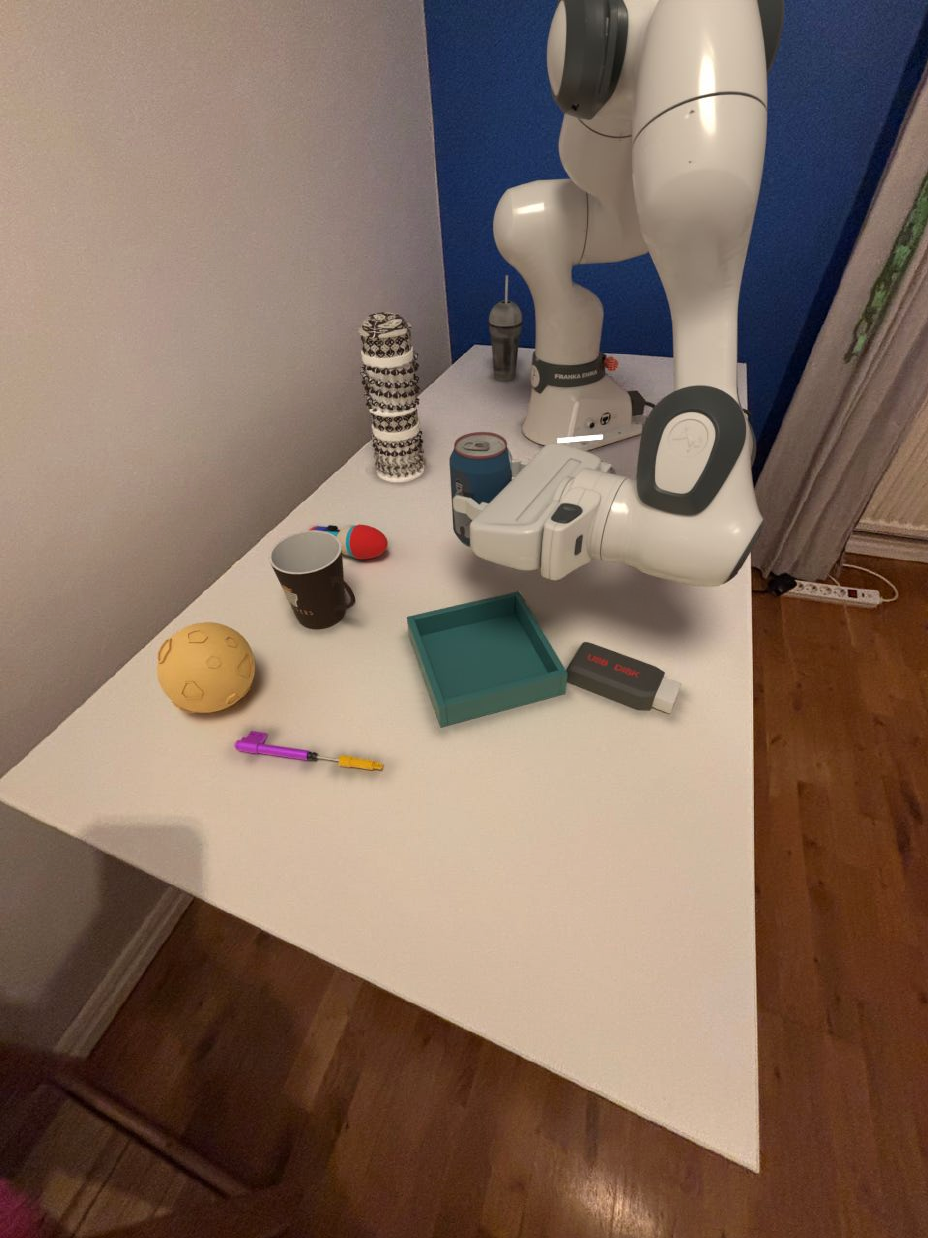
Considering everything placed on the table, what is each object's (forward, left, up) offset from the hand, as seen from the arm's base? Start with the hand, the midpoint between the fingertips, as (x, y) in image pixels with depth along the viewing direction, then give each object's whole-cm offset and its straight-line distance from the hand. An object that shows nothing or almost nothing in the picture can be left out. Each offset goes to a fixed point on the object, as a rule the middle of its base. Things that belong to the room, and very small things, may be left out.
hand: (474, 483), depth 68 cm
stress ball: (+33, +7, -17) cm, 38 cm away
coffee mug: (+20, -2, -17) cm, 27 cm away
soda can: (-1, +1, -7) cm, 7 cm away
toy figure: (+15, -16, -17) cm, 28 cm away
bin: (+3, +12, -17) cm, 21 cm away
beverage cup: (-29, -68, -17) cm, 76 cm away
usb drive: (-11, +20, -17) cm, 29 cm away
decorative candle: (+2, -36, -17) cm, 40 cm away
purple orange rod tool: (+24, +18, -17) cm, 35 cm away
